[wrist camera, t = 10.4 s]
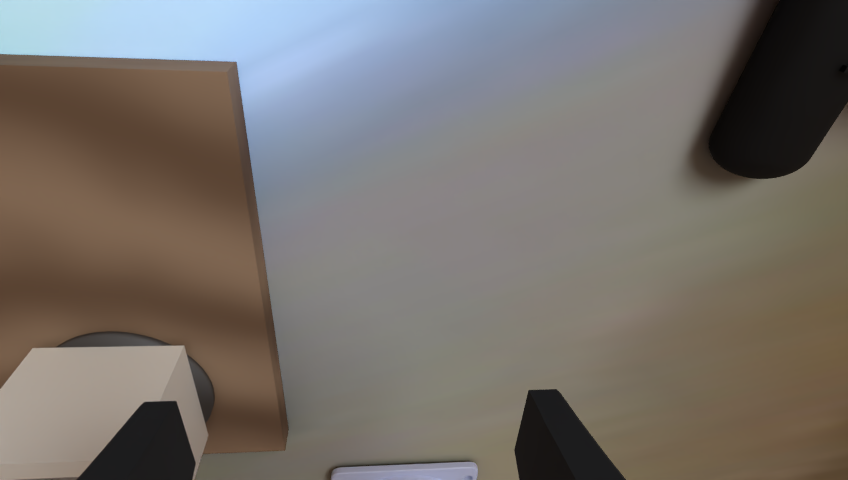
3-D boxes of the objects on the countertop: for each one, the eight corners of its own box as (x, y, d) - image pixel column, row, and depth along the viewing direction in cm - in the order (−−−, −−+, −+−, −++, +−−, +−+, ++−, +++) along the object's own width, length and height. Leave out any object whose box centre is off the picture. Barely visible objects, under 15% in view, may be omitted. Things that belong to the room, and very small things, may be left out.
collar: (208, 435, 23) (171, 551, 19) (77, 439, 23) (9, 559, 18) (184, 345, 20) (134, 459, 16) (32, 348, 20) (-61, 466, 15)
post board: (288, 429, 26) (265, 568, 20) (34, 438, 24) (-64, 589, 19) (236, 62, 16) (164, 138, 10) (-189, 48, 15) (-517, 126, 9)
